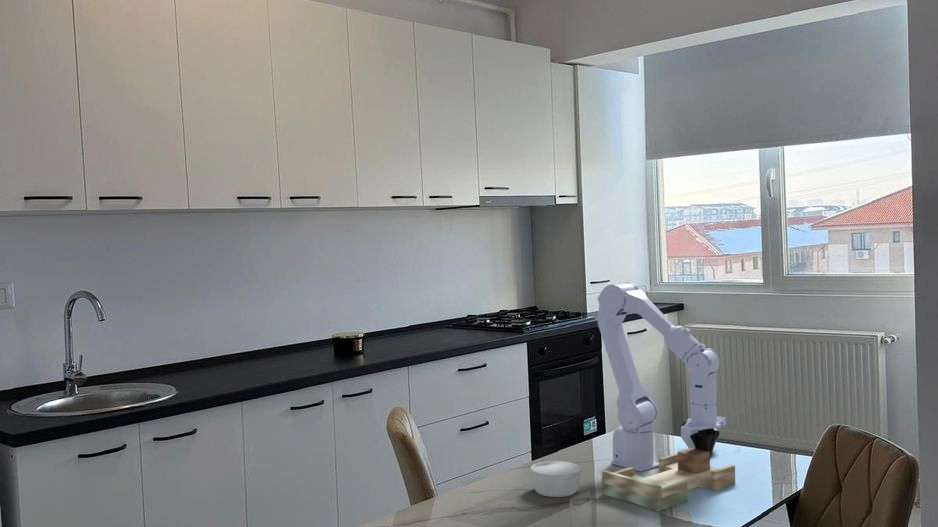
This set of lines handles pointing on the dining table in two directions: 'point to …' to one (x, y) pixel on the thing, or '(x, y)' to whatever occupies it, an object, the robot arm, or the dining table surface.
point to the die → (688, 439)
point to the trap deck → (663, 483)
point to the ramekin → (555, 478)
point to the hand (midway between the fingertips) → (704, 462)
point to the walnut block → (693, 460)
